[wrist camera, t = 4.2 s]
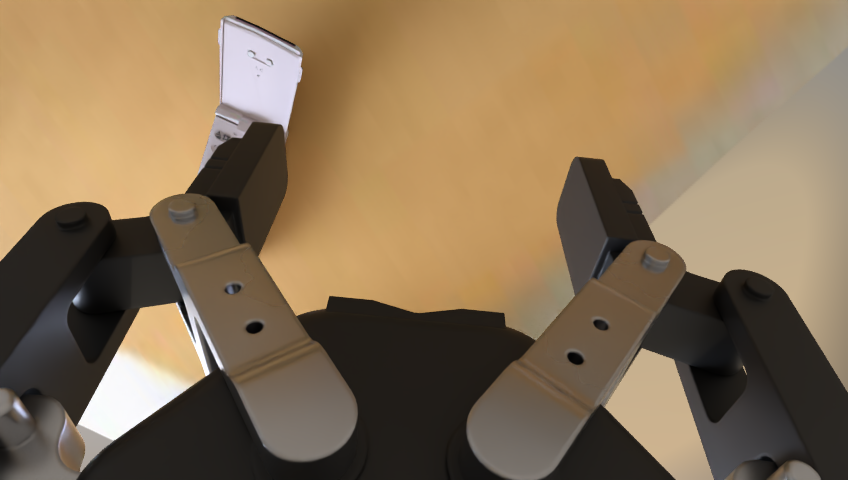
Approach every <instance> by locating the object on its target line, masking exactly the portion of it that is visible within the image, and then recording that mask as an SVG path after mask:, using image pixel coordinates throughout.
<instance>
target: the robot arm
mask: <svg viewBox="0 0 848 480" xmlns="http://www.w3.org/2000/svg"><path fill="white" fill-rule="evenodd" d="M287 181H288V173H287V161H286V149H285V137H284V129H283V126H282V125H281V124H274V123H264V122H255V121H254V122H252V123H251V125H250V126H249V128H248V129H247V131H246V133H245V134H244V136H243V137H242V138H235V137H232V138H231V139H229V140H227V141H226V142H224V143H222V144H221V145H219V146H218V147H217V148H216V150H215V151H214V153H213V154H212V156H211V159H209V160H208V161H207V163H206V164H205V167H204V168H202V170H201V171H200V173H199V174H198V176H197V177H196V178H195V180H194V181H193V183H192V184H191V186H190V187H189V188H188V190H187V191H186V193H185V194H179V195H174V196H171V197H168V198H165V199H163V200H161V201H160V202H158V203H157V204H156V205H155V206H154V207H153V208H152V209H151V211H150V216H147V217H140V218H130V219H120V220H112V219H111V216H110V214H109V211H108V210H107V208H106V207H104V206H103V205H100V204H97V203H92V202H76V203H70V204H66V205H62V206H59V207H57V208H54V209H52V210H50V211H49V212H47V213H45V214H44V215H43V216H42V217H40V218H39V219H38V221H37V222H36V223H35V224H34V225H33V226H32V227H31V228H30V229H29V231H28V232H27V233H26V234H25V235H24V236H23V237H22V238H21V239H20V241H19V242H18V243H17V244H16V245H15V246H14V247H13V248H12V249H11V250H10V252H9V253H8V254H7V255H6V256H5V257H4V258H3V259H2V260H1V262H0V480H675V479H674V478H673V477H672V475H671V474H670V473H669V472H668V471H666V470H665V468H664V467H662V465H661V464H659V462H658V461H657V460H656V459H655V458H654V457H653V456H652V455H651V454H650V453H649V452H648V451H647V450H646V449H645V448H644V447H643V446H642V445H641V444H640V443H639V442H638V441H637V440H636V439H635V438H634V437H633V436H632V435H631V434H630V433H629V432H628V431H627V430H626V429H625V428H624V427H623V426H622V425H621V424H620V423H619V422H618V421H617V420H616V419H615V418H614V417H613V416H612V415H611V414H610V413H609V412H608V411H607V410H606V409H605V408H604V407H605V406H606V404H607V402H608V401H609V399H610V397H611V396H612V394H613V393H614V391H615V389H616V388H617V386H618V385H619V383H620V382H621V380H622V378H623V377H624V375H625V374H626V372H627V371H628V369H629V367H630V366H631V364H632V363H633V361H634V360H635V358H636V357H637V355H638V353H639V352H640V350H641V349H642V348H644V349H646V350H649V351H652V352H655V353H658V354H660V355H663V356H666V357H669V358H672V359H674V360H675V364H676V367H677V370H678V373H679V376H680V379H681V382H682V385H683V387H684V391H685V394H686V397H687V400H688V403H689V406H690V409H691V412H692V415H693V418H694V421H695V423H696V426H697V430H698V433H699V436H700V439H701V442H702V445H703V448H704V450H705V454H706V457H707V460H708V462H709V466H710V469H711V472H712V475H713V477H714V480H848V392H847V391H846V389H845V387H844V386H843V384H842V383H841V381H840V379H839V378H838V376H837V375H836V373H835V371H834V370H833V368H832V366H831V365H830V363H829V362H828V360H827V358H826V357H825V355H824V353H823V352H822V350H821V349H820V347H819V345H818V344H817V342H816V341H815V339H814V337H813V336H812V334H811V333H810V331H809V329H808V328H807V326H806V324H805V323H804V321H803V319H802V318H801V316H800V315H799V313H798V311H797V310H796V308H795V307H794V305H793V303H792V302H791V300H790V298H789V297H788V295H787V294H786V292H785V291H784V290H783V289H782V288H781V287H780V286H779V285H778V284H776V283H775V282H773V281H772V280H770V279H769V278H767V277H765V276H763V275H761V274H758V273H755V272H752V271H748V270H732V271H729V272H728V273H726V275H725V276H724V278H723V279H722V281H721V282H717V281H714V280H710V279H707V278H704V277H701V276H698V275H695V274H691V273H689V272H687V271H686V265H685V262H684V260H683V259H682V258H681V257H680V256H679V254H677V253H676V252H675V251H673V250H672V249H671V248H669V247H667V246H665V245H663V244H660V243H657V242H656V240H655V238H654V236H653V234H652V231H651V230H650V227H649V225H648V223H647V221H646V219H645V217H644V215H642V210H641V208H640V206H639V205H637V203H638V202H637V200H636V198H635V196H634V194H633V192H632V190H631V189H630V188H629V187H628V186H627V185H625V184H624V183H623V182H622V181H621V180H620V179H614V178H612V177H611V175H610V173H609V170H608V168H607V166H606V163H605V161H604V160H602V159H593V158H584V157H575V158H574V159H573V161H572V163H571V166H570V169H569V172H568V175H567V178H566V181H565V184H564V188H563V191H562V194H561V197H560V200H559V203H558V208H557V226H558V230H559V234H560V238H561V242H562V246H563V250H564V254H565V258H566V262H567V266H568V269H569V273H570V277H571V281H572V285H573V289H574V293H575V297H574V298H573V299H572V300H571V301H570V303H569V304H568V305H567V306H566V307H565V308H564V309H563V311H562V312H561V313H560V314H559V315H558V316H557V317H556V319H555V320H554V321H553V322H552V323H551V324H550V325H549V327H548V328H547V329H546V330H545V331H544V332H543V333H542V335H541V336H540V337H539V338H538V339H537V340H536V341H535V340H534V339H532V338H531V337H529V336H527V335H525V334H523V333H521V332H519V331H517V330H514V329H512V328H509V327H506V325H505V316H504V313H498V312H488V311H477V310H467V309H456V310H447V311H437V312H427V313H413V312H410V311H407V310H403V309H400V308H397V307H393V306H390V305H387V304H383V303H380V302H377V301H374V300H365V299H355V298H344V297H334V296H329V300H328V304H327V308H326V309H322V310H316V311H311V312H307V313H304V314H301V315H298V316H296V315H295V314H294V312H293V310H292V309H291V307H290V306H289V304H288V303H287V301H286V300H285V298H284V296H283V295H282V293H281V292H280V290H279V289H278V287H277V286H276V284H275V282H274V281H273V279H272V278H271V276H270V275H269V273H268V271H267V270H266V268H265V267H264V265H263V264H262V262H261V261H260V259H259V257H258V256H259V254H260V251H261V249H262V247H263V244H264V242H265V240H266V237H267V235H268V233H269V231H270V228H271V226H272V224H273V221H274V219H275V217H276V215H277V212H278V210H279V208H280V205H281V203H282V201H283V199H284V196H285V193H286V189H287ZM170 303H176V305H177V307H178V310H179V312H180V314H181V317H182V319H183V321H184V323H185V326H186V328H187V330H188V332H189V335H190V337H191V339H192V342H193V344H194V346H195V348H196V351H197V353H198V355H199V358H200V360H201V363H202V366H203V368H204V371H205V374H206V376H205V377H204V378H203V379H201V380H200V381H198V382H197V383H196V384H194V385H193V386H191V387H190V388H188V389H187V390H186V391H184V392H183V393H181V394H180V395H179V396H177V397H176V398H174V399H173V400H172V401H170V402H169V403H167V404H166V405H164V406H163V407H162V408H160V409H159V410H157V411H156V412H155V413H153V414H152V415H150V416H149V417H147V418H146V419H145V420H143V421H142V422H140V423H139V424H137V425H136V426H135V427H133V428H132V429H130V430H129V431H128V432H126V433H125V434H123V435H122V436H120V437H119V438H118V439H116V440H115V441H113V442H112V443H111V444H110V445H108V446H107V447H106V448H104V449H103V450H102V451H101V452H100V453H99V454H98V455H97V456H96V457H95V458H94V459H93V460H92V461H90V463H89V464H88V465H87V466H86V467H85V469H84V470H83V471H82V472H80V467H81V464H82V461H83V458H84V454H85V444H84V440H83V438H82V437H81V435H80V433H79V432H78V430H77V429H76V426H77V424H78V422H79V420H80V419H81V417H82V415H83V413H84V411H85V409H86V408H87V406H88V404H89V402H90V400H91V398H92V396H93V395H94V393H95V391H96V389H97V387H98V385H99V383H100V382H101V380H102V378H103V376H104V374H105V372H106V371H107V369H108V367H109V365H110V363H111V361H112V359H113V358H114V356H115V354H116V352H117V350H118V348H119V346H120V345H121V343H122V341H123V339H124V337H125V335H126V334H127V332H128V330H129V328H130V326H131V324H132V322H133V321H134V319H135V317H136V315H137V313H138V311H139V309H140V308H142V307H149V306H156V305H163V304H170ZM743 365H744V367H745V370H746V373H747V375H746V373H745V371H744V369H743Z"/></svg>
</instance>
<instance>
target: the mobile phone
mask: <svg viewBox="0 0 848 480" xmlns="http://www.w3.org/2000/svg"><path fill="white" fill-rule="evenodd" d="M218 44H219V45H220V105H219V106H218V107H217V109H216V112H215V114H216V117H215V120H214V123H213V126H212V129H211V133H210V136H209V139H208V142H207V146H206V149H205V152H204V155H203V158H202V162H201V165H200V168H199V172H198V174H199V173H200V171H201V170H202V168H204V167H205V164H206V163H207V161H208V160H209V159H211V156H212V154H213V153H214V151H215V150H216V148H217V147H218V146H219V145H221V144H222V143H224V142H226V141H227V140H229V139H231V138H232V137H235V138H242V137H243V136H244V134H245V133H246V131H247V129H248V128H249V126H250V125H251V123H252V122H254V121H255V122H264V123H274V124H281V125H282V126H283V129H284V137H285V143H286V140H287V137H288V133H289V131H288V125H289V120H290V116H291V112H292V108H293V104H294V99H295V94H296V89H297V85H298V82H300V80H301V75H302V69H303V68H301V62H302V56H303V53H302V51H301V49H300V48H299V47H298V46H296V45H295V44H293V43H291V42H289V41H287V40H285V39H283V38H281V37H279V36H277V35H275V34H273V33H271V32H269V31H267V30H265V29H264V28H262V27H260V26H257V25H255V24H253V23H250V22H248V21H246V20H243V19H241V18H239V17H236V16H234V15H231V16H224V17H223V18H222V19H221V29H219V30H218ZM221 97H222V103H221Z"/></svg>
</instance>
